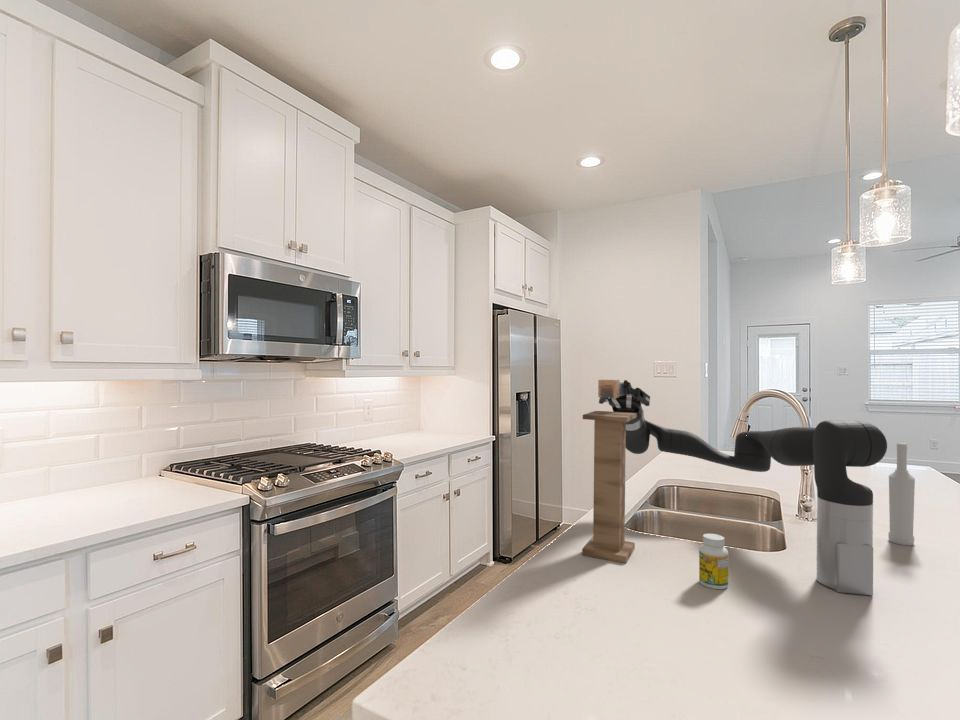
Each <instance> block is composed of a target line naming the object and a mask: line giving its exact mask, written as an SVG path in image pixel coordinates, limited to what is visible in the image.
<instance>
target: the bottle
mask: <svg viewBox="0 0 960 720" xmlns="http://www.w3.org/2000/svg"><path fill="white" fill-rule="evenodd" d="M907 455H908V443H901V442H896V469H894V472H892V473H890V474H889V475H888V499H889V500H888V502H889V503H888V505H889V508H888V509H889V510H888V512H889V532H888V535H887V536H888V540H889V542H891V543H894V544H897V545H899V546H900V545H901V546H913V545H914V544H915V536H914V519H915V516H914V514H915V489H916V487H915V485H916V479H915V477H914V476H913V475H911V474H910V473H909V470H907V469H908V467H907V465H908V463H907V461H908V460H907V459H908V457H907Z"/></svg>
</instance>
